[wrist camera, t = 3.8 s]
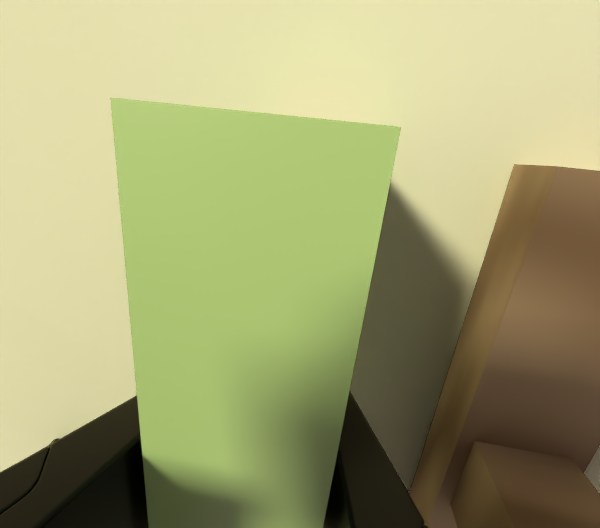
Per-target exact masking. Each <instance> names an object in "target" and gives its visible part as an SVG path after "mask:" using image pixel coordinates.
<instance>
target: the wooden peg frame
mask: <svg viewBox="0 0 600 528" xmlns="http://www.w3.org/2000/svg"><path fill="white" fill-rule="evenodd" d="M599 445H600V171H594V170H585V169H576V168H566V167H556V166H536V165H516V164H514V167H513V170H512V173H511V176H510V180H509V183H508V186H507V189H506V192H505V195H504V198H503V202H502V205H501V208H500V211H499V214H498V217H497V220H496V223H495V227H494V230H493V233H492V236H491V239H490V242H489V245H488V249H487V252H486V255H485V258H484V261H483V264H482V267H481V270H480V274H479V277H478V280H477V283H476V286H475V289H474V292H473V296H472V299H471V302H470V305H469V308H468V311H467V314H466V317H465V321H464V324H463V327H462V330H461V333H460V336H459V339H458V342H457V346H456V349H455V352H454V355H453V358H452V361H451V364H450V368H449V371H448V374H447V377H446V380H445V383H444V386H443V389H442V393H441V396H440V399H439V402H438V405H437V408H436V411H435V415H434V418H433V421H432V424H431V427H430V430H429V433H428V436H427V440H426V443H425V446H424V449H423V452H422V455H421V458H420V461H419V465H418V468H417V471H416V474H415V477H414V480H413V483H412V487H411V490H410V493H409V495H410V496H411V498H412V500H413V502H414V503H415V505H416V507H417V509H418V510H419V512H420V514H421V516H422V517H423V519H424V522H425V523H424V525H427V526H428V527H429V528H600V494H599V493H598V491H597V490H596V489H595V487H594V486H593V485H592V483H591V482H590V481H589V480H588V478H587V477H586V476H585V474H584V471H585V470H586V468H587V466H588V464H589V463H590V461H591V459H592V457H593V456H594V454H595V452H596V450H597V449H598V447H599Z"/></svg>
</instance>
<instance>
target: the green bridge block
mask: <svg viewBox="0 0 600 528" xmlns="http://www.w3.org/2000/svg"><path fill="white" fill-rule="evenodd" d="M111 109H112V120H113V132H114V143H115V154H116V165H117V176H118V188H119V199H120V210H121V221H122V233H123V244H124V255H125V266H126V278H127V289H128V300H129V311H130V323H131V334H132V345H133V356H134V368H135V379H136V390H137V401H138V413H139V424H140V435H141V446H142V458H143V469H144V480H145V491H146V503H147V514H148V525H149V528H323V524H324V519H325V514H326V509H327V504H328V499H329V493H330V488H331V483H332V478H333V473H334V468H335V463H336V458H337V452H338V447H339V442H340V437H341V432H342V427H343V422H344V417H345V411H346V406H347V401H348V396H349V391H350V386H351V381H352V376H353V370H354V365H355V360H356V355H357V350H358V345H359V340H360V335H361V329H362V324H363V319H364V314H365V309H366V304H367V299H368V294H369V288H370V283H371V278H372V273H373V268H374V263H375V258H376V253H377V247H378V242H379V237H380V232H381V227H382V222H383V217H384V212H385V206H386V201H387V196H388V191H389V186H390V181H391V176H392V171H393V165H394V160H395V155H396V150H397V145H398V140H399V135H400V130H401V127H396V126H386V125H376V124H366V123H356V122H346V121H336V120H326V119H317V118H307V117H297V116H287V115H277V114H267V113H257V112H247V111H237V110H227V109H217V108H207V107H197V106H187V105H177V104H168V103H158V102H148V101H138V100H128V99H118V98H111Z"/></svg>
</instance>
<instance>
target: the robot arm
mask: <svg viewBox="0 0 600 528" xmlns="http://www.w3.org/2000/svg"><path fill="white" fill-rule="evenodd" d="M424 523H425V522H424V519H423V517H422V516H421V514H420V512H419V510H418V509H417V507H416V505H415V503H414V502H413V500H412V498H411V496H410V495H409V493H408V491H407V490H406V488H405V486H404V484H403V483H402V481H401V479H400V477H399V476H398V474H397V472H396V470H395V469H394V467H393V465H392V463H391V462H390V460H389V458H388V456H387V455H386V453H385V451H384V449H383V448H382V446H381V444H380V442H379V441H378V439H377V437H376V436H375V434H374V432H373V430H372V429H371V427H370V425H369V423H368V422H367V420H366V418H365V416H364V415H363V413H362V411H361V409H360V408H359V406H358V404H357V402H356V401H355V399H354V397H353V395H352V394H351V392H350V391H349V396H348V401H347V406H346V411H345V417H344V422H343V427H342V432H341V437H340V442H339V447H338V452H337V458H336V463H335V468H334V473H333V478H332V483H331V488H330V493H329V499H328V504H327V509H326V514H325V519H324V524H323V528H429V527H428V526H427V525H424ZM0 528H149V525H148V514H147V503H146V491H145V480H144V469H143V458H142V446H141V435H140V424H139V413H138V401H137V396H135V397H133V398H131V399H130V400H128V401H126V402H124V403H123V404H121V405H119V406H117V407H116V408H114V409H112V410H110V411H109V412H107V413H105V414H103V415H101V416H100V417H98V418H96V419H94V420H93V421H91V422H89V423H87V424H86V425H84V426H82V427H80V428H79V429H77V430H75V431H73V432H72V433H70V434H68V435H66V436H64V437H63V438H61V439H55V440H53V441H52V442H51V443H50V444H49V445H48V446H47V447H45V448H43V449H41V450H40V451H38V452H36V453H34V454H33V455H31V456H29V457H27V458H25V459H24V460H22V461H20V462H18V463H16V464H15V465H13V466H11V467H9V468H7V469H5V470H4V471H2V472H0Z"/></svg>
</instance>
